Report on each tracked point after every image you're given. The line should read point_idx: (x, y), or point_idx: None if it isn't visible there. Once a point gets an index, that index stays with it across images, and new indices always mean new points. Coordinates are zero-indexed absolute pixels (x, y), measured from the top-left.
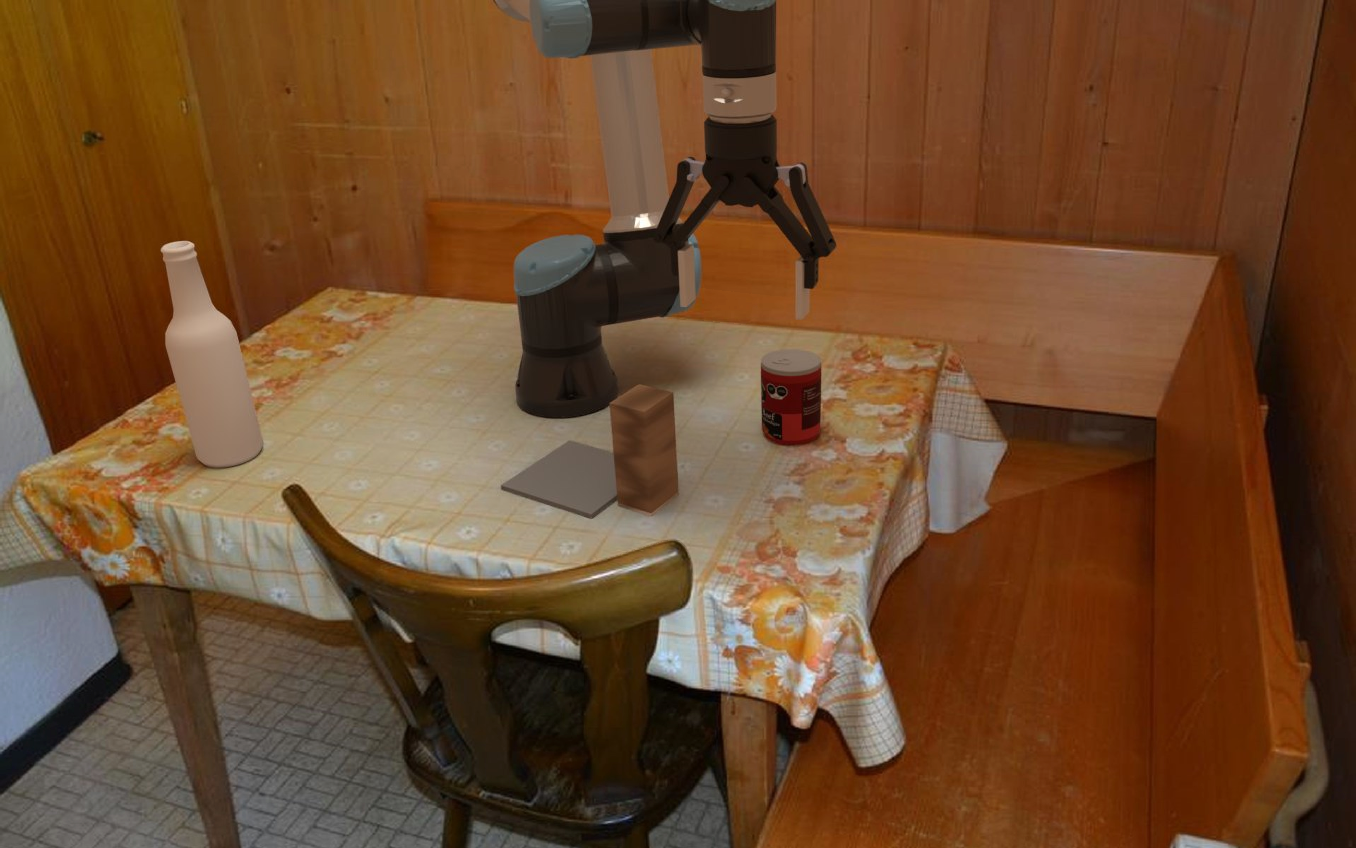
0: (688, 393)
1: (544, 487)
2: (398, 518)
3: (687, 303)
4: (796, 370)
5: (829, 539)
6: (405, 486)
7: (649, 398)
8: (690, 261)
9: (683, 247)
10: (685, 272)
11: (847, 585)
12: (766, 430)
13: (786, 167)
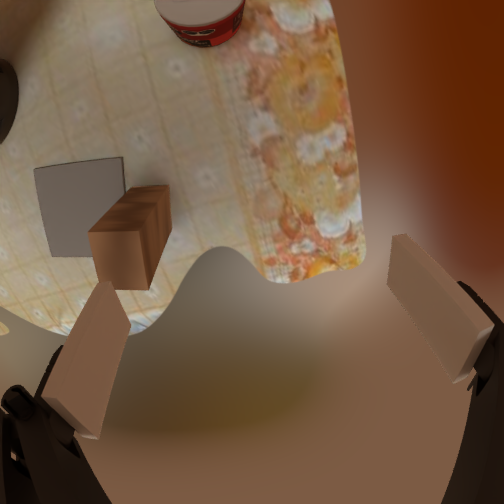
0: (65, 18)
1: (75, 243)
2: (45, 309)
3: (127, 324)
4: (225, 13)
5: (331, 188)
6: (16, 281)
7: (127, 259)
8: (87, 380)
9: (64, 418)
10: (109, 386)
11: (360, 237)
12: (188, 43)
13: None
